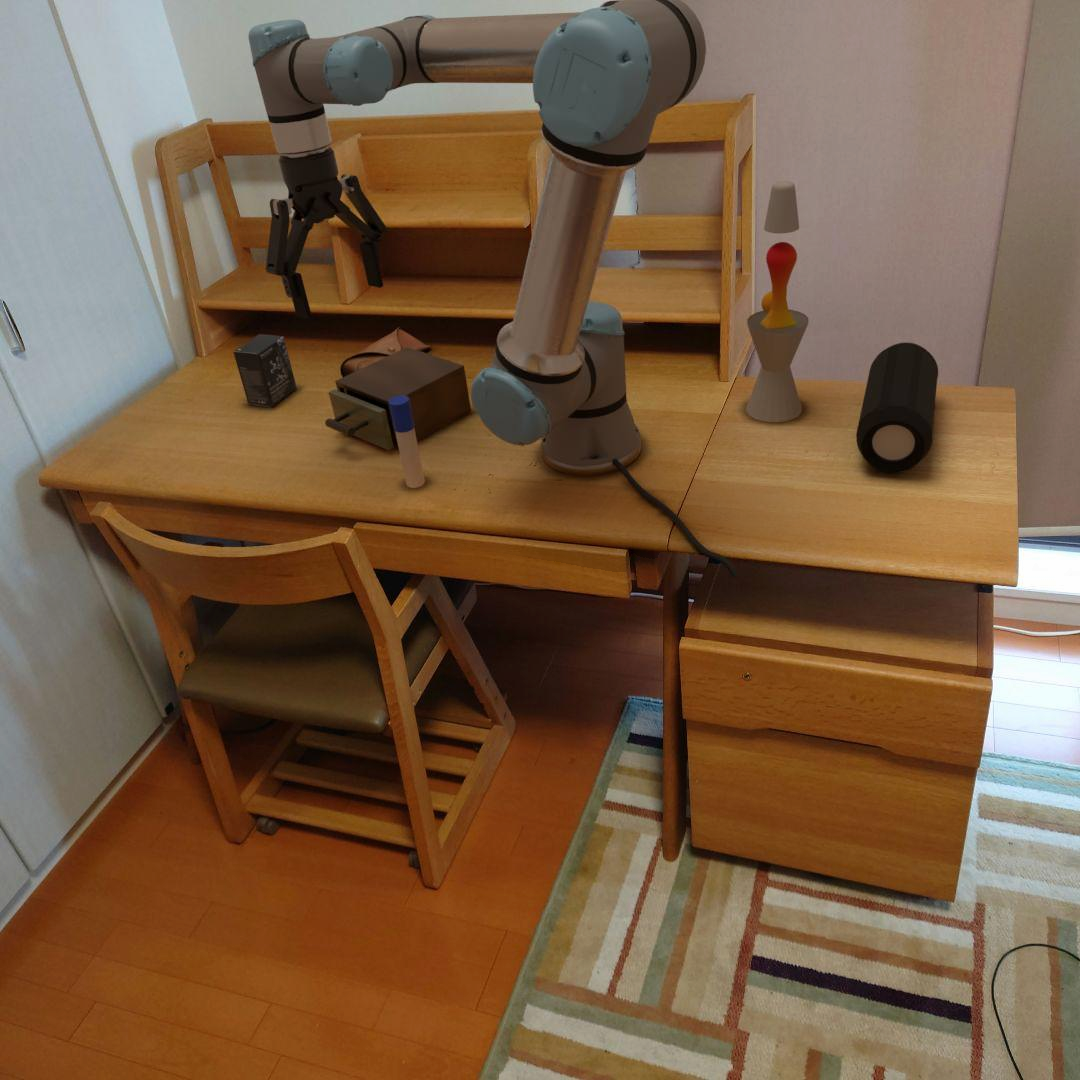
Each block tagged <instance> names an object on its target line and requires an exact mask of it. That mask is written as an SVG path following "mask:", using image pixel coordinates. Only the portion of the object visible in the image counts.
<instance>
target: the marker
mask: <svg viewBox="0 0 1080 1080" xmlns="http://www.w3.org/2000/svg"><path fill="white" fill-rule="evenodd" d="M388 403H389V408H390V412H391V417H392V422H393V427H394V430H395V433H396V437H397V442H398V447H399V450H398V451H399V452H398V453H399V456H400V460H401V465H402V470H403V471H402V472H403V475H404V480H405V484H406V486H407V488H410V489H418V488H420V487H422V486H424V485H425V483H426V480H425V475H424V469H423V466H422V461H421V456H420V455H421V454H420V450H419V445H418V442H417V439H416V434H415V429H414V420H413V415H412V410H411V405H410V400H409V397H407V396H404V395H400V396H395V397H392V398H391V399H390V400H389V401H388Z"/></svg>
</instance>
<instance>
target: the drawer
mask: <svg viewBox="0 0 1080 1080" xmlns="http://www.w3.org/2000/svg"><path fill="white" fill-rule="evenodd" d="M344 392H345V393H342V392H340V391H338V390H337V389H332V390H330V391H328V396H329V399H330V404H331V408H332V411H333V415H334V416H333V417H334V418H329V417H328V418H327V419H326V420H325V421H324V422H325V423H324V424H325V426H326V428H329V429H332V430H334V431H337V432H339V433H341V434H343V435H346V436H347V437H353V436H354V437H356V438H359V439H361V440H364V441H365V442H368V443H370V444H372V445H375V446H377V447H380V448H381V449H384V450H387V451H390V450H391V449H394V447H393V442H392V439H393V440H396V435H395V430H394V427H393V422H392V417H391V412H390V408H389V406H388V405H385V404H383V403H380V402H378V401H375V400H373V399H370V398H367V397H365V396H362V395H360V394H357V393H355V392H352V391H349V390H347V389H344ZM396 441H397V440H396Z"/></svg>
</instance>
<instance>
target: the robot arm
mask: <svg viewBox="0 0 1080 1080" xmlns="http://www.w3.org/2000/svg"><path fill="white" fill-rule="evenodd" d="M703 29H704V28H703V26H702V24H701V21H700V20H699V17H698V16H697V15H696V13H695V12H694V11H693V10H692V9H691V8H690V6H689V5H688V4H686V3H685V2H684V1H682V0H607V1H604V2H603V3H601V5H599V6H598V7H592V8H589V9H586V10H584V11H583V10H582V11H580V12H579V11H578V12H576V11H575V12H556V13H554V12H553V13H532V14H530V13H529V14H508V15H507V14H506V15H485V16H484V15H483V16H482V15H481V16H459V17H458V16H457V17H442V18H441V17H440V18H439V17H438V18H436V17H435V16H433V15H430V14H429V15H428V14H423V15H412V16H407V17H404V18H403V19H401V20H397V21H393V22H390V23H387V24H383V25H379V26H374V27H370V28H366V29H361V30H357V31H354V32H353V31H352V32H350V33H346V34H342V35H338V36H330V37H318V38H311V36H310V34H309V33H308V30H307V26H306V24H305V23H304V21H302V20H300V19H284V20H277V21H270V22H265V23H259V24H257V25H254V26H253V27H251V28H250V29H249V31H248V34H247V35H248V42H249V48H250V53H251V59H252V66H253V67H254V70H255V74H256V78H257V81H258V86H259V89H260V93H261V96H262V97H261V98H262V101H263V104H264V108H265V112H266V115H267V119H268V123H269V126H270V131H271V135H272V139H273V142H274V146H275V150H276V152H277V153H278V154H280V156H279V158H278V162H279V167H280V171H281V175H282V178H283V182H284V184H285V186H286V188H287V191H288V194H287V195H288V196H287V197H285V198H281V199H279V198H271V199H270V200H269V208H270V214H271V220H270V221H271V223H270V228H269V236H268V237H269V238H268V245H267V254H266V263H265V272H266V273H267V274H269V275H270V274H271V275H274V276H279V277H281V281H282V284H283V288H284V291H285V295H286V296H287V298H290V299H291V300H292V303H293V307H294V308H293V309H294V312H295V315H296V317H297V318H300V319H303V320H311V319H313V315H312V311H311V307H310V304H309V303H310V302H309V299H308V296H307V293H306V288H305V283H304V281H303V276H302V273H301V272H296V271H297V269H298V265H299V262H300V259H301V257H302V253H303V251H304V247H305V244H306V241H307V238H308V235H309V233H310V231H311V230H312V229H313V228H314V224H316V225H317V224H320V223H322V222H324V221H325V220H330V219H334V218H335V217H337V218H338V219H339V220H340V221H341V222H342V223H344V224H345V225H346V226H347V227H348V228H349V229H351V230H352V232H354V233H355V234H356V235H357V236H359V237H360V238H361V239H362V240H364V241H360V242H358V245H359V249H360V254H361V258H362V259H361V260H362V263H363V268H364V272H365V273H364V274H365V277H366V281H367V286H370V287H374V288H378V289H380V288H383V287H384V283H383V276H382V273H381V269H380V263H382V256H381V251H380V247H379V246H380V245H379V243H381V242H382V241H383V236H382V235H383V234H386V233H387V232H388V227H387V226H386V224H385V223H384V221H383V220H382V218H381V216H379V214H378V212H377V211H376V209H375V208H374V206H373V205H372V203H371V202H370V201H369V199H368V198H367V196H366V195H365V194H364V192H363V190H362V188H361V185H360V181H359V178H358V176H357V175H354V174H345V173H344V174H342V175H340V179H339V177H338V176H339V168H338V163H337V159H336V154H335V151H334V149H333V148H332V147H331V146H330V145H331V144H332V143H333V142H332V141H333V139H332V136H331V131H330V126H329V123H328V119H327V114H326V110H325V106H324V105H348V106H353V107H355V106H356V107H361V106H362V105H370V104H377V103H379V102H380V101H382V100H384V98H385V97H386V95H388V93H389V92H391V91H393V90H397V89H399V88H402V87H406V86H409V85H414V84H440V83H441V84H445V83H447V84H532V94H533V100H534V103H536V104H537V105H538V107H539V111H538V115H539V117H540V120H541V121H542V125H541V130H540V131H541V137H542V139H543V140H544V142H545V143H546V145H547V146H548V147H549V149H550V153H549V159H548V164H547V166H546V167H547V168H546V172H545V177H544V181H543V186H542V189H541V195H540V199H539V203H538V208H537V211H536V212H537V213H536V217H535V221H534V224H533V225H534V226H533V231H532V235H531V238H530V243H529V248H528V252H527V256H526V261H525V265H524V270H523V275H522V279H521V284H520V289H519V293H518V297H517V302H516V306H515V311H514V315H513V319H512V321H510V322H508V323H506V324H504V325H503V327H502V328H501V329H500V330H499V332H498V335H497V336H496V337H497V338H496V342H495V347H494V352H493V355H492V360H491V363H490V364H489V365H488V367H485V368H483V369H481V370H480V371H479V373H477V375H476V376H475V377H474V379H473V381H472V384H471V387H470V396H471V403H472V405H473V408H474V410H475V411H474V412H475V413H476V414H477V415H478V417H479V418H480V420H481V423H482V424H483V425H484V426H485V427H486V428H487V429H488V430H489V432H490V433H492V434H493V435H494V436H496V438H498V439H500V440H502V441H504V442H505V443H508V444H510V445H514V446H520V447H522V446H531V445H532V444H534V443H536V442H538V441H539V440H541V441H540V447H541V448H540V449H541V457H542V460H543V461H544V463H545V464H546V465H547V466H549V468H551V469H553V470H555V471H557V472H560V473H564V474H567V475H572V476H598V475H604V474H609V473H612V472H615V471H619V472H620V474H621V475H622V476H623V477H624V478H625V480H626V481H627V482H628V484H630V486H631V487H632V488H633V489H634V490H635V491H636V492H637V493H638V494H640V495H641V496H642V497H643V498H644V499H646V500H647V501H648V502H650V503H651V504H652V505H654V506H655V507H656V508H658V509H659V510H660V511H661V512H663V513H664V514H665V515H666V516H668V517H669V519H671V521H672V522H673V523H674V524H675V525H676V526H677V528H679V530H680V532H682V534H683V535H684V536H685V538H686V539H687V541H689V543H690V544H691V545H692V546H693V547H694V548H695V549H696V550H697V551H698V552H699V553H700V554H702V555H703V556H705V557H706V558H709V559H711V560H713V561H716V562H719V563H721V564H722V565H723V566H725V568H726V569H727V570H728V572H729V574H730V576H731V577H732V578H733V579H739V578H740V577H741V576H740V573H739V571H738V569H737V568H736V566H735V565H734V563H732V561H731V560H729V559H728V558H727V557H726V556H724V555H722V554H720V553H717V552H714V551H711V550H710V549H708V548H706V546H705V545H703V544H702V543H701V542H700V541H699V540H698V539H697V538H696V537H695V536H694V534H693V533H692V532H691V530H690V529H689V527H687V525H686V524H685V523H684V521H683V520H682V519H681V518H680V517H679V516H678V515H677V514H676V513H675V512H674V511H673V510H672V509H671V508H669V507H668V506H667V505H665V503H663V502H662V501H660V500H659V499H658V498H656V497H654V496H653V495H652V494H651V493H649V491H647V490H646V489H645V488H643V486H642V485H640V484H639V483H638V482H637V480H636V479H635V478H634V477H633V475H632V474H631V473H630V472H629V471H628V470H627V468H626V467H627V466H629V465H630V464H632V463H633V462H634V461H636V459H638V457H639V455H640V454H641V452H642V436H641V433H640V430H639V428H638V426H637V425H636V424H635V420H634V417H633V414H632V411H631V409H630V406H629V404H628V399H627V397H628V396H627V377H626V356H625V353H626V352H625V330H624V328H623V327H624V326H623V318H622V314H621V313H620V311H619V310H618V309H617V308H616V307H614V306H613V305H610V304H608V303H604V302H600V301H592V300H590V298H591V294H592V291H593V287H594V284H595V280H596V276H597V273H598V269H599V266H600V263H601V259H602V256H603V252H604V250H605V249H604V248H605V245H606V243H607V242H606V241H607V238H608V234H609V232H610V227H611V224H612V221H613V218H614V214H615V211H616V207H617V204H618V199H619V196H620V193H621V190H622V186H623V183H624V179H625V175H626V173H627V171H629V170H630V169H632V168H634V167H636V166H637V167H638V165H640V164H641V163H642V162H643V161H644V159H645V156H646V153H647V149H648V146H649V144H650V143H649V142H650V140H651V136H652V132H653V129H654V126H655V123H656V120H657V117H658V115H659V114H661V113H664V112H665V111H667V110H670V109H671V108H673V107H675V106H677V105H678V104H680V102H682V101H683V100H685V99H686V98H687V97H688V95H689V94H691V92H692V91H693V90H694V88H695V87H696V85H697V84H698V82H699V80H700V78H701V75H702V73H703V70H704V66H705V63H706V55H707V54H706V53H707V44H706V37H705V32H704V30H703ZM343 193H344V194H345V195H346V197H347V199H348V200H349V201H350V202H351V204H352V205H353V207H354V208H355V210H356V211H357V214H359V216H360V217H361V218H362V219H361V218H360V217H359V216H357V215H356V214H355V213H354V212H353V211H352V210H351V208H350V207H349V206H348V205H347V204H345V202H343V200H341V198H342V194H343ZM292 210H293V211H294V212H292ZM292 213H293V215H292V217H291V220H290V215H291V214H292ZM290 224H291V227H290ZM289 228H290V229H289Z"/></svg>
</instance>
